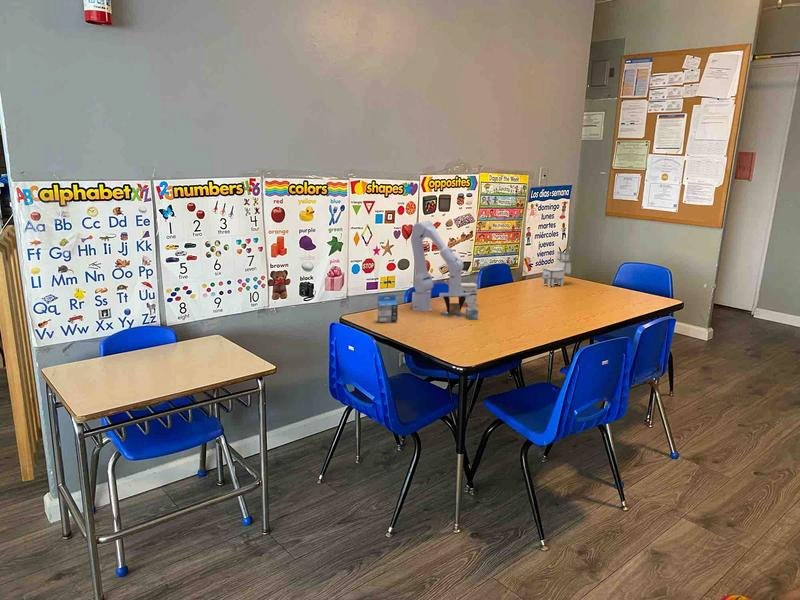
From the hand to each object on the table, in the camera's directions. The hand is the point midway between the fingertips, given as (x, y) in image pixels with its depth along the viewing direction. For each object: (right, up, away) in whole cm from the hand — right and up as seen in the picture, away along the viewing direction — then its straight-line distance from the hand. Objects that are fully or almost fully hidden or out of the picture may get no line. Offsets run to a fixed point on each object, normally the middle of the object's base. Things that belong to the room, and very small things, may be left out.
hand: (453, 311), depth 292 cm
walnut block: (0, -1, 0) cm, 1 cm away
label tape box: (-32, -5, -14) cm, 35 cm away
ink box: (+9, +2, +18) cm, 20 cm away
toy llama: (+68, +14, +71) cm, 99 cm away
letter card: (0, -2, 0) cm, 2 cm away
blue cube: (+8, -3, -6) cm, 10 cm away
